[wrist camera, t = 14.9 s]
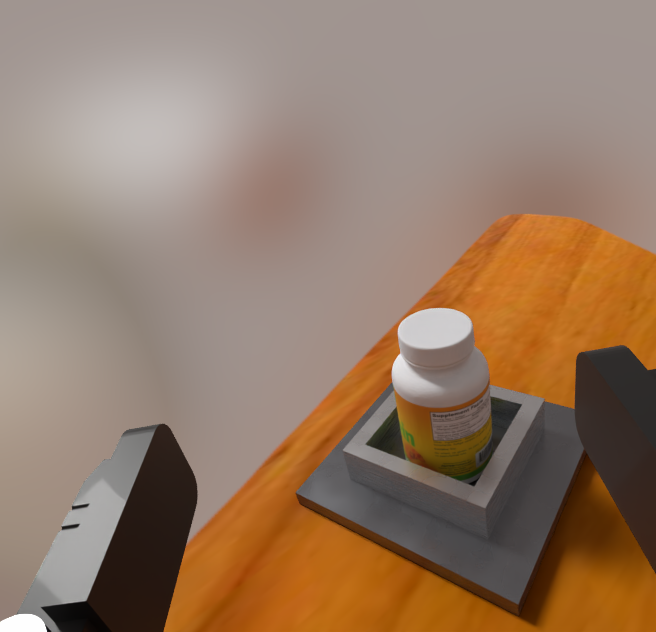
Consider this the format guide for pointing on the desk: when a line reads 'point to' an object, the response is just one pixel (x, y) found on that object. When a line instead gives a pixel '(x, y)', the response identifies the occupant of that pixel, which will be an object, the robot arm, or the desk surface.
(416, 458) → the supplement bottle
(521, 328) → the desk surface
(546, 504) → the socket plate
